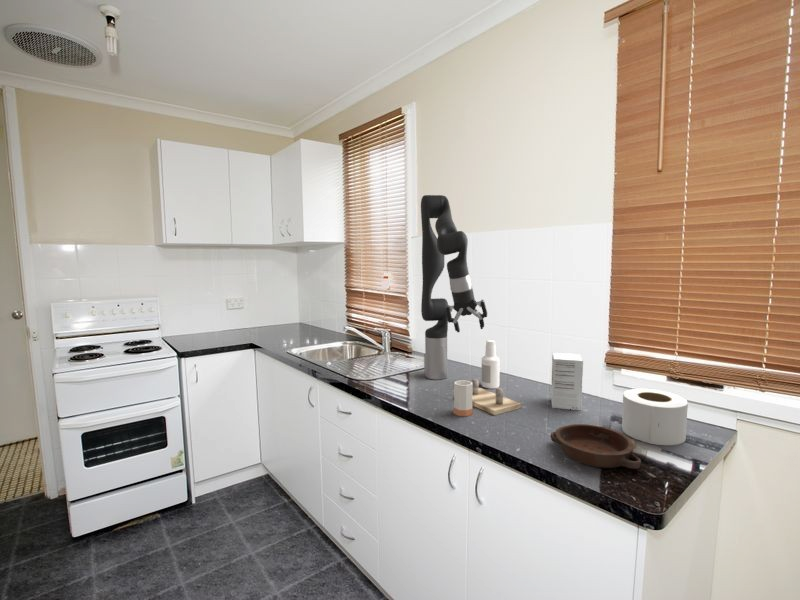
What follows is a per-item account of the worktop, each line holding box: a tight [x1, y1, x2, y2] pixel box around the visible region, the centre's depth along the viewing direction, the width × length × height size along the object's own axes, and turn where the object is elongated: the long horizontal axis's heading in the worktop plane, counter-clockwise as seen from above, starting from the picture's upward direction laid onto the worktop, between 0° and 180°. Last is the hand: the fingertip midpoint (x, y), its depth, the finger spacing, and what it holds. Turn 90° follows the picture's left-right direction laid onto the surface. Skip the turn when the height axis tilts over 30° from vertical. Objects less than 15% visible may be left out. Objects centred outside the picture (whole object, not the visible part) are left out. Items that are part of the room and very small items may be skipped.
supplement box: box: [550, 352, 584, 411], centre depth 140 cm, size 10×9×17 cm
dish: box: [550, 423, 642, 470], centre depth 105 cm, size 18×22×5 cm
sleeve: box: [453, 379, 474, 417], centre depth 134 cm, size 6×6×10 cm
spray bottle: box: [480, 339, 501, 390], centre depth 161 cm, size 7×7×18 cm
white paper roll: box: [621, 388, 689, 446], centre depth 117 cm, size 16×15×11 cm
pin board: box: [471, 378, 522, 416], centre depth 143 cm, size 20×12×6 cm, turn 31°
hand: (470, 330), depth 151 cm, fingers open, 8 cm apart
